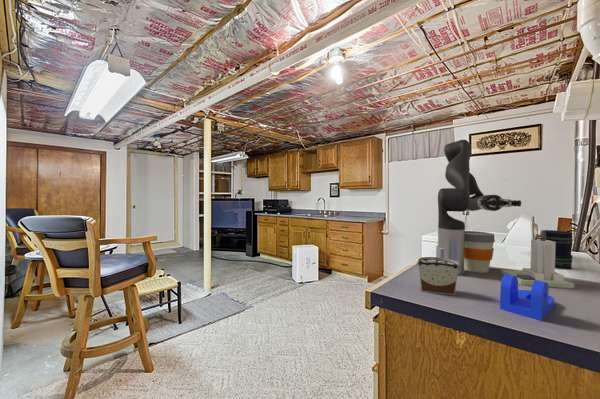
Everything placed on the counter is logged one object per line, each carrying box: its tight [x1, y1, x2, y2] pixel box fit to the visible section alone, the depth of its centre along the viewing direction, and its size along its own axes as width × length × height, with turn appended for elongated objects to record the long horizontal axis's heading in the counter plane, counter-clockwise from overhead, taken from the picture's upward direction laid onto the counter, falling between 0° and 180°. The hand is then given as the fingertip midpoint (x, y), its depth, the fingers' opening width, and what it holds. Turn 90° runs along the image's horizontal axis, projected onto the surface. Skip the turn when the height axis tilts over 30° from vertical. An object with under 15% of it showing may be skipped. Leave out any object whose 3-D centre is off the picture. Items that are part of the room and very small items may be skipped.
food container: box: [416, 256, 461, 296], centre depth 85 cm, size 12×6×10 cm, turn 71°
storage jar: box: [540, 229, 574, 270], centre depth 113 cm, size 10×10×15 cm
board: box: [500, 267, 575, 290], centre depth 94 cm, size 15×13×4 cm
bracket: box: [499, 274, 555, 322], centre depth 73 cm, size 18×8×9 cm, turn 127°
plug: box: [530, 230, 556, 280], centre depth 93 cm, size 5×5×16 cm
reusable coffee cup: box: [464, 230, 496, 274], centre depth 108 cm, size 13×13×15 cm
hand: (507, 203), depth 109 cm, fingers open, 8 cm apart
